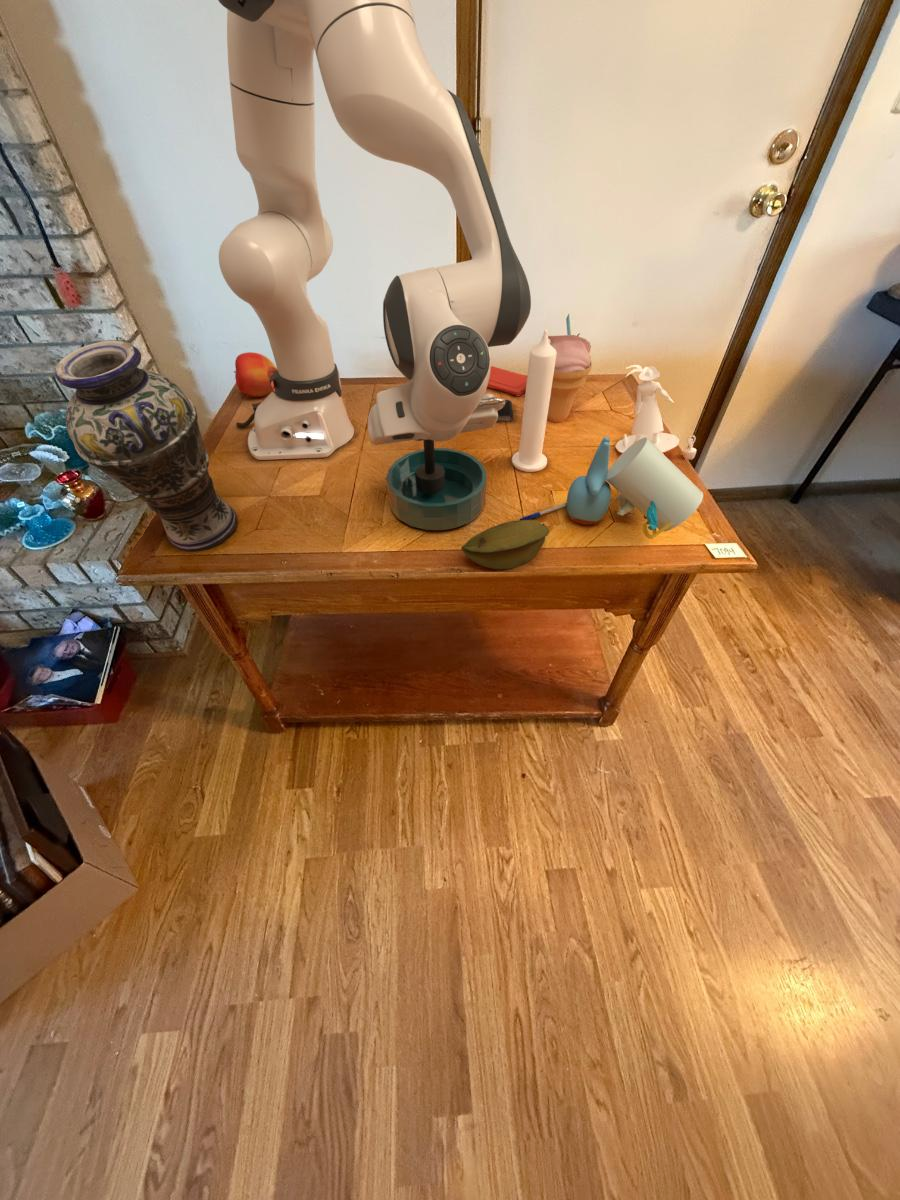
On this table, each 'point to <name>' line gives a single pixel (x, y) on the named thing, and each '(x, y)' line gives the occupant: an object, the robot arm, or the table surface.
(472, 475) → the bowl
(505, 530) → the fruit
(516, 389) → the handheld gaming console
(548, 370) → the candle
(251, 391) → the apple
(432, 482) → the dark post on base
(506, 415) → the phone
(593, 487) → the toy
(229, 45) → the robot arm
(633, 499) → the pale green cylinder
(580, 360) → the ice cream cone
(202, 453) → the vase
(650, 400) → the figurine
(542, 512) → the ballpoint pen
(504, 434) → the table surface
